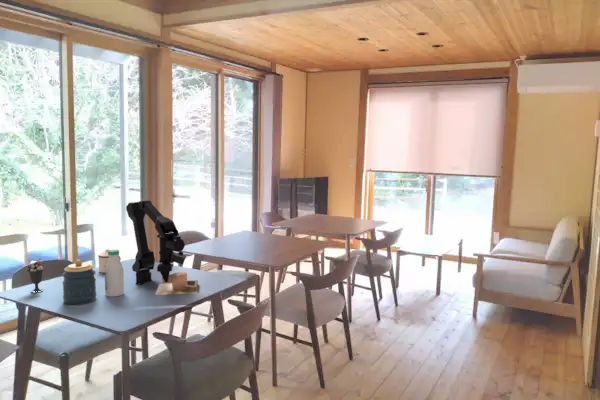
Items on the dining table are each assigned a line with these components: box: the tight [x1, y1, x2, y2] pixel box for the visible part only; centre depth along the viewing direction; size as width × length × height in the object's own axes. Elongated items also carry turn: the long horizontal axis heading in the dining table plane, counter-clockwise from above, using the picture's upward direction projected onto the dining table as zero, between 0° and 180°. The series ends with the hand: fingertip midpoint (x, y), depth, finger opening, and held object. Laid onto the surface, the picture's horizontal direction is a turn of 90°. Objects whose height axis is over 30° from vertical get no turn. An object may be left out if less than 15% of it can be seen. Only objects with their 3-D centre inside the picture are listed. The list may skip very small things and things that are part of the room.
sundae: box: [26, 259, 45, 292], centre depth 215 cm, size 7×7×15 cm
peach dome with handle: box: [161, 271, 188, 290], centre depth 220 cm, size 11×7×6 cm, turn 101°
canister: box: [62, 259, 97, 306], centre depth 204 cm, size 13×13×18 cm
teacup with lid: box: [97, 248, 122, 274], centre depth 252 cm, size 12×9×12 cm
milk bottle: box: [104, 249, 125, 298], centre depth 212 cm, size 8×8×20 cm
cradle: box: [155, 279, 199, 296], centre depth 220 cm, size 18×16×3 cm
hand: (166, 281), depth 219 cm, fingers closed on peach dome with handle
